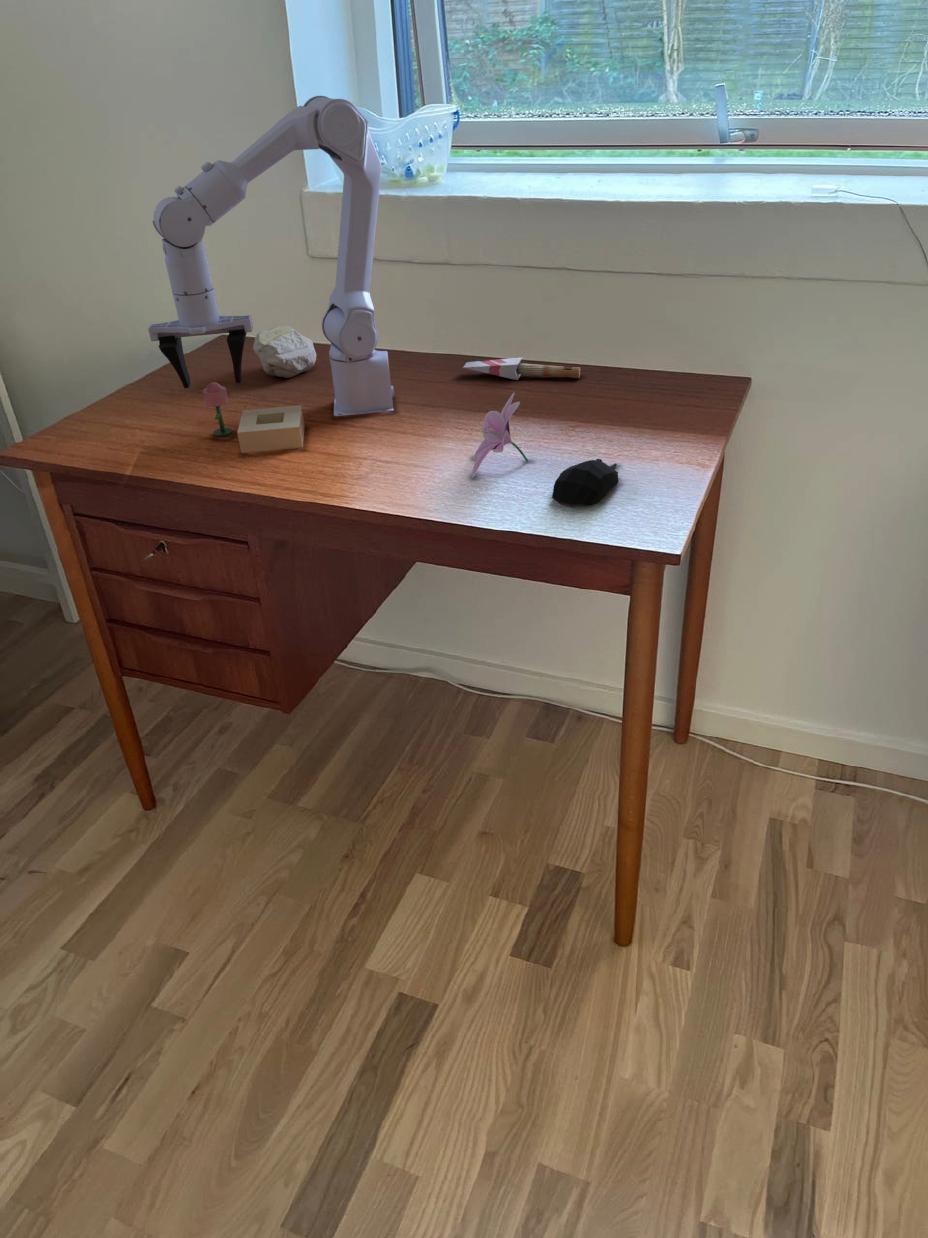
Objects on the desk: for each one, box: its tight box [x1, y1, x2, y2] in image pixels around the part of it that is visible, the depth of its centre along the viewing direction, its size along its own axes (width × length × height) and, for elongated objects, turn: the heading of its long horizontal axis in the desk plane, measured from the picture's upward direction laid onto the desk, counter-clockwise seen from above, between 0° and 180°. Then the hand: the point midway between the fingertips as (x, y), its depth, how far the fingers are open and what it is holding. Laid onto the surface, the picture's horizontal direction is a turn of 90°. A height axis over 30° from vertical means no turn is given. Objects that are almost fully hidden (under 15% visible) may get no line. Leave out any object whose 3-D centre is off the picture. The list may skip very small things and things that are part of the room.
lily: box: [471, 391, 529, 479], centre depth 127 cm, size 12×12×10 cm
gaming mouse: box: [551, 458, 619, 508], centre depth 120 cm, size 6×15×4 cm, turn 147°
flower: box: [202, 381, 234, 439], centre depth 140 cm, size 3×4×9 cm
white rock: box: [252, 324, 317, 379], centre depth 165 cm, size 12×8×10 cm
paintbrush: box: [462, 356, 581, 381], centre depth 158 cm, size 4×3×20 cm
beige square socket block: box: [236, 404, 306, 454], centre depth 139 cm, size 9×9×4 cm
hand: (213, 383), depth 138 cm, fingers open, 7 cm apart
